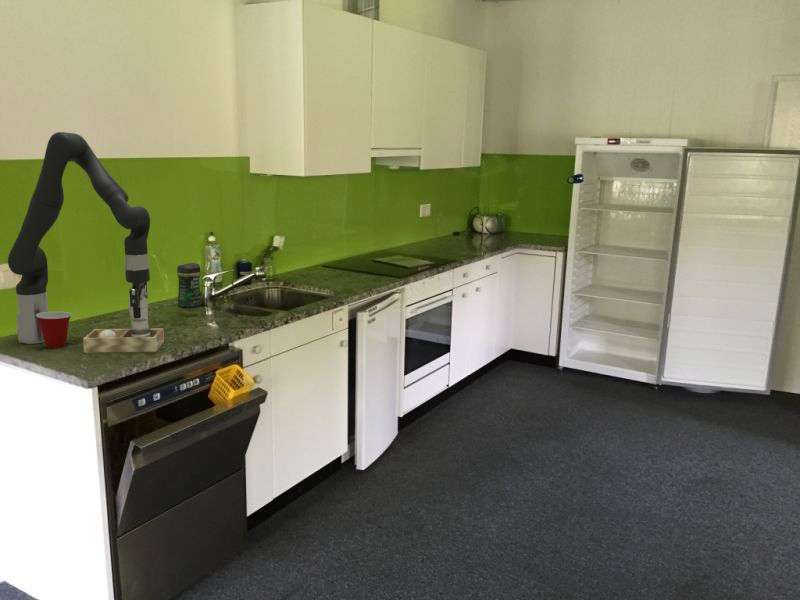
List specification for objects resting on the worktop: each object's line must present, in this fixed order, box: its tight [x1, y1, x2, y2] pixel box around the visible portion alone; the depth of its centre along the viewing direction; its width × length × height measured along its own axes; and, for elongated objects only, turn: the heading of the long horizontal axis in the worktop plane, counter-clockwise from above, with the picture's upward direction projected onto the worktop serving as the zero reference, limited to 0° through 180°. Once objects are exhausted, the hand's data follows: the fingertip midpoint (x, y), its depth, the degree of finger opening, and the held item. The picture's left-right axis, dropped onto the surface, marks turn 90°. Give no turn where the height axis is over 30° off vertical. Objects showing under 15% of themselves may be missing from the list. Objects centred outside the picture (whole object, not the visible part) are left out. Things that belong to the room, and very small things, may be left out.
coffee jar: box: [176, 262, 203, 309], centre depth 290 cm, size 10×8×19 cm
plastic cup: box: [36, 311, 73, 349], centre depth 228 cm, size 11×11×12 cm
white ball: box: [98, 330, 117, 338], centre depth 227 cm, size 6×6×6 cm
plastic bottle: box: [128, 296, 151, 337], centre depth 227 cm, size 6×7×20 cm
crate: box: [82, 327, 165, 354], centre depth 228 cm, size 23×12×6 cm, turn 98°
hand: (140, 315), depth 227 cm, fingers open, 7 cm apart
